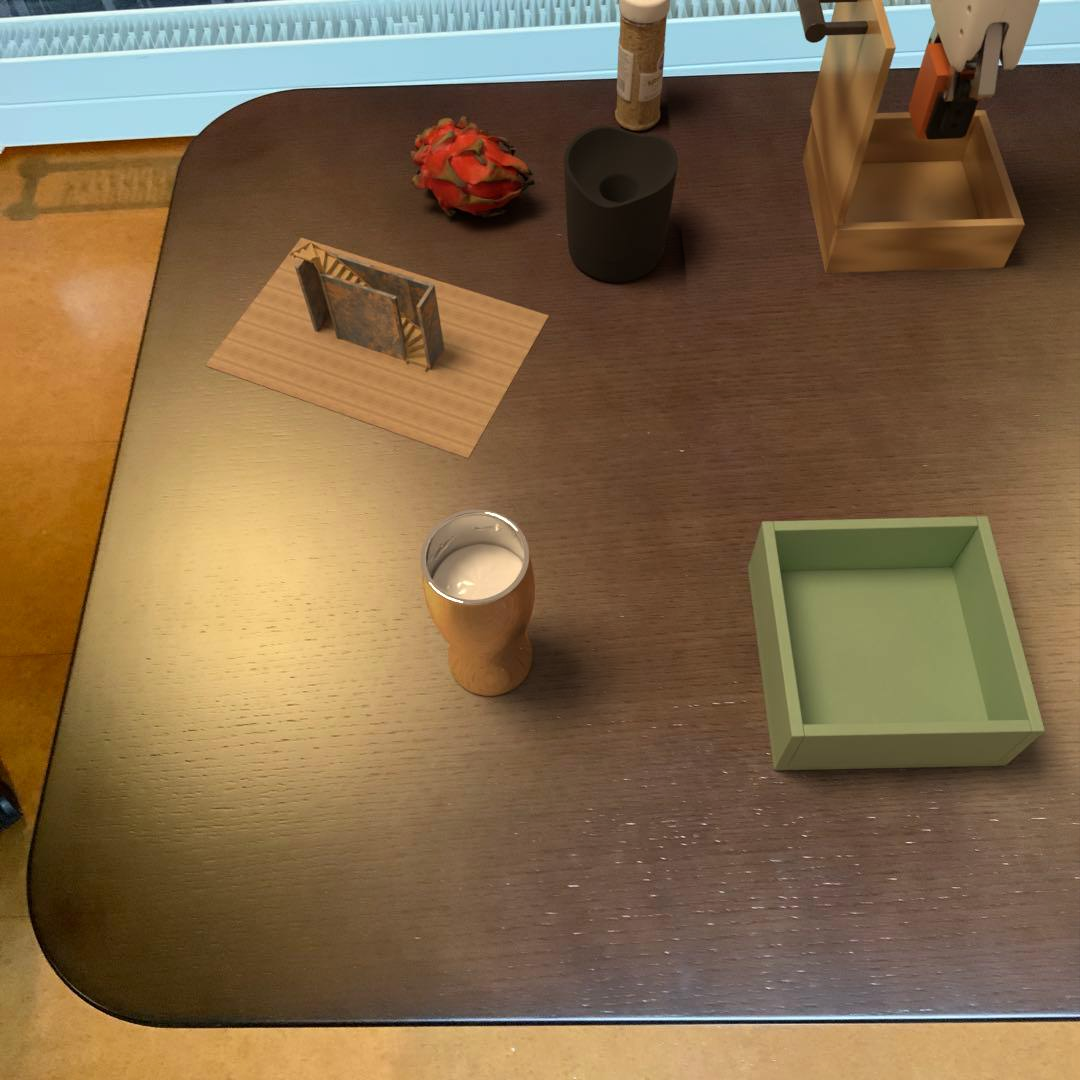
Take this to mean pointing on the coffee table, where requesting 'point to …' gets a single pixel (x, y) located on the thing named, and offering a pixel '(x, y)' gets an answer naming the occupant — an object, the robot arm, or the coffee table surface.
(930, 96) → the block
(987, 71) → the robot arm
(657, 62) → the spice jar
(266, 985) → the coffee table surface
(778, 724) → the open box
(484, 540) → the beer glass
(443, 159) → the dragon fruit
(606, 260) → the pen holder
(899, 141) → the chest
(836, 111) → the lid
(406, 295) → the architectural model on board
